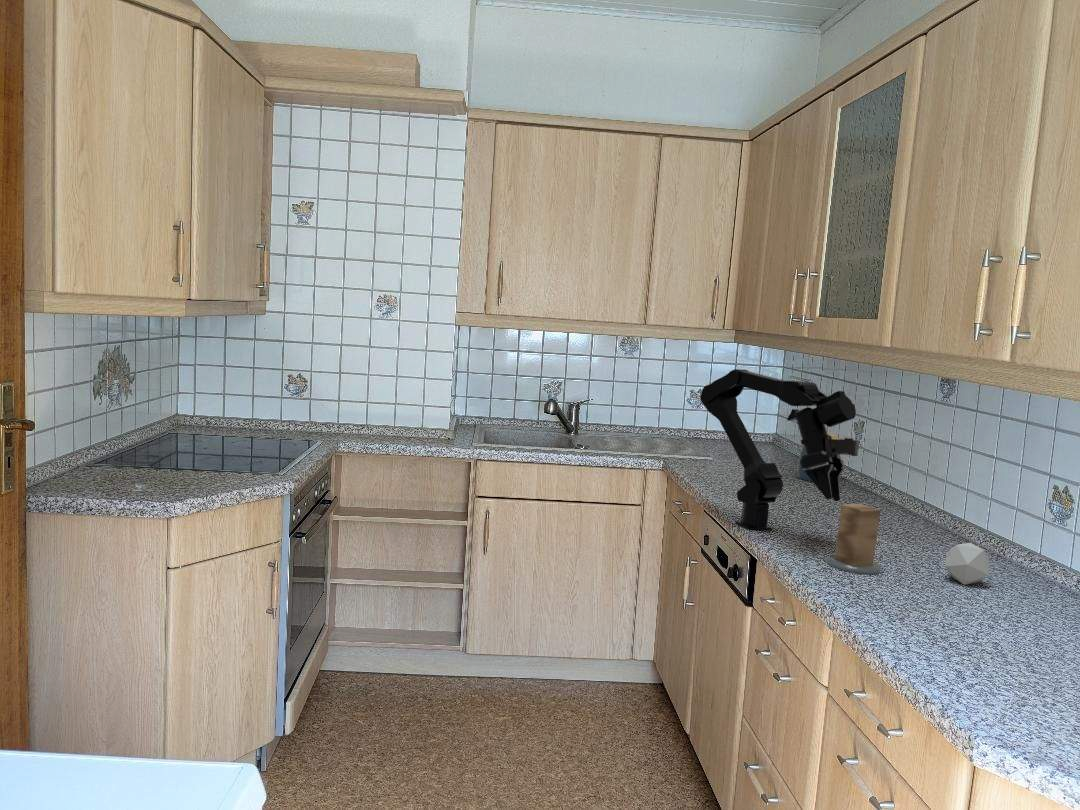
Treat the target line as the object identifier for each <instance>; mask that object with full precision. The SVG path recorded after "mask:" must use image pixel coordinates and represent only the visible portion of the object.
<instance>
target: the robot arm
mask: <svg viewBox="0 0 1080 810" xmlns="http://www.w3.org/2000/svg"><path fill="white" fill-rule="evenodd" d="M745 388H747V389H750V390H753V391H758V392H761V393H764V394H769V395H771V396H774V397H776V398H778V399H779V400H780V401H782V403H786V405H789V406H791V407H805V408H802V409H797V408H796V409H795V408H794V409H793V408H792V409H791V411H790V414H788V417H787V419H786V420H787V421H791V422H792V421H794V422H795V421H796V424H797V428H798V430H799V434H800V436H801V440H800V443H801V446H802V445H804V448H805V451H806V454H807V455H804V456H802V458H801V460H800V464H801V467H802V469H803V470H806V471H804V472H805V473H806V474H807V475H808V477H809V478H810V479H811V480H812V481H813V482H812V483H813V484H814V485H815V486H816V488H817V489H818V490H819V491H820V493H821V494H822V495H823V497H825V500H831V499H833V500H834V502H839V501H841V493H840V492H841V491H840V490H841V488H840V477H841V475H842V474H843V472H845V468H846V465H845V462H844V460H843V459H842V458H841V459H840V458H838V455H837V454H840V455H847V456H849V455H850V456H852V457H858V455H859V454H858V453H859V450H860V448H859V441H857V440H854V438H852V437H850V438H848V437H845V438H844V439H841V438H840V439H841V440H840V439H832V437H831V436H830V435H828V433H829V432H827V430H826V428H828V427H829V428H832V427H835V426H839V424H843V423H845V422H848V421H850V420H851V421H852V420H853V419H855V417H856V415H857V410H856V406H855V403H853V401H852V400H851V399H850V398H849V397H848V396H847V395H846V392H845V391H844V390H838V391H835V392H833V393H832V394H830V395H828V396H827V395H825V394H824V393H823V392H822V391H820V390H819V388H818V385H817V384H816V383H815V382H813V381H801V380H799V381H797V380H783V379H780V378H775V377H772V376H769V375H768V376H767V375H764V374H761V373H756V372H752V371H749V370H747V369H737V368H736V369H731V371H729V372H728V373H726V374H725V375H724V376H721V377H720V378H717V379H715V380H713V381H712V382H711V383H710V384H706V385H705V386H704V387H703V388H702V390H701V392H700V396H699V397H700V398H699V399H700V401H701V404H702V405H703V407H704V408H705V410H707V412H708V413H709V414H711V415H712V416H713V417H715V418H716V419H717V420H718V421H719V423H720V425H721V427H722V428H723V430H724V433H725V434H726V437H727V438H728V440H729V441H730V444H731V446H732V447H733V449H734V452H735V453H736V455H737V457H738V459H739V461H740V463H741V465H742V466H743V470H744V471H743V481H744V483H745V485H744V486H742V487H741V488H739V489H738V490H737V492H736V497H737V501H738V502H742V509H741V510H742V511H741V519H740V520H735V524H737V525H739V526H742V527H744V528H746V529H747V530H773V529H772V528H773V527H771V526H769V525H768V521H769V514H770V513H769V512H770V511H769V510H770V509H769V508H770V504H769V503H772V504H773V503H775V502H776V500H777V498H778V497H779V495H780V494H781V493H782V491H783V487H784V481H783V480H782V478H783V475H782V474H781V473H780V472H779V469H778V467H777V465H776V463H774V462H769V463H768V462H766V461H765V460H764V459H763V457H762V456H761V454H760V452H759V450H758V448H757V447H756V444H755V443H754V441H753V439H752V438H751V435H750V433H749V432H748V430H747V427H746V426H745V424H744V422H743V421H742V419H741V417H740V415H739V413H738V399H737V397H738V396H740V395H741V394H742V393H743V391H744V389H745ZM812 406H816V407H814V408H812ZM808 467H810V468H811V469H809V470H807V468H808Z"/></svg>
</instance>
